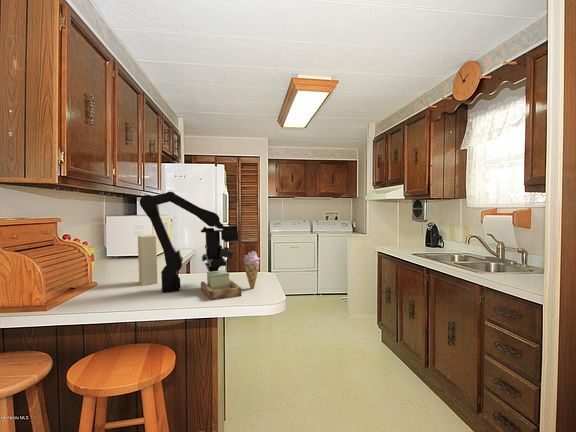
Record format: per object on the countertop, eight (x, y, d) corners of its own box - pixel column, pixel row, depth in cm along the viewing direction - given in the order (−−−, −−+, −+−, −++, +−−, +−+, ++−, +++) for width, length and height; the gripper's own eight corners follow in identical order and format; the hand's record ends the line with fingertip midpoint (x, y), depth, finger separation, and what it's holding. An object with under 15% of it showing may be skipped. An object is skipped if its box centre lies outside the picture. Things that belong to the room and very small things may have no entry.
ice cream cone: (263, 287, 142) (262, 250, 141) (257, 290, 136) (256, 252, 135) (248, 286, 144) (247, 249, 143) (241, 289, 138) (240, 252, 137)
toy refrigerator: (159, 283, 153) (157, 235, 152) (141, 285, 149) (139, 236, 149) (156, 280, 160) (154, 234, 159) (139, 282, 156) (137, 235, 155)
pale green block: (211, 290, 133) (210, 275, 133) (207, 286, 140) (206, 271, 140) (229, 288, 136) (229, 273, 136) (225, 284, 143) (224, 270, 142)
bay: (210, 300, 124) (210, 291, 124) (201, 289, 141) (200, 281, 141) (241, 295, 129) (241, 287, 129) (228, 285, 145) (228, 278, 145)
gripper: (238, 243, 139) (239, 282, 139) (226, 239, 156) (227, 274, 156) (210, 245, 134) (211, 286, 135) (200, 241, 151) (202, 277, 152)
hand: (214, 280), depth 144 cm, fingers closed
